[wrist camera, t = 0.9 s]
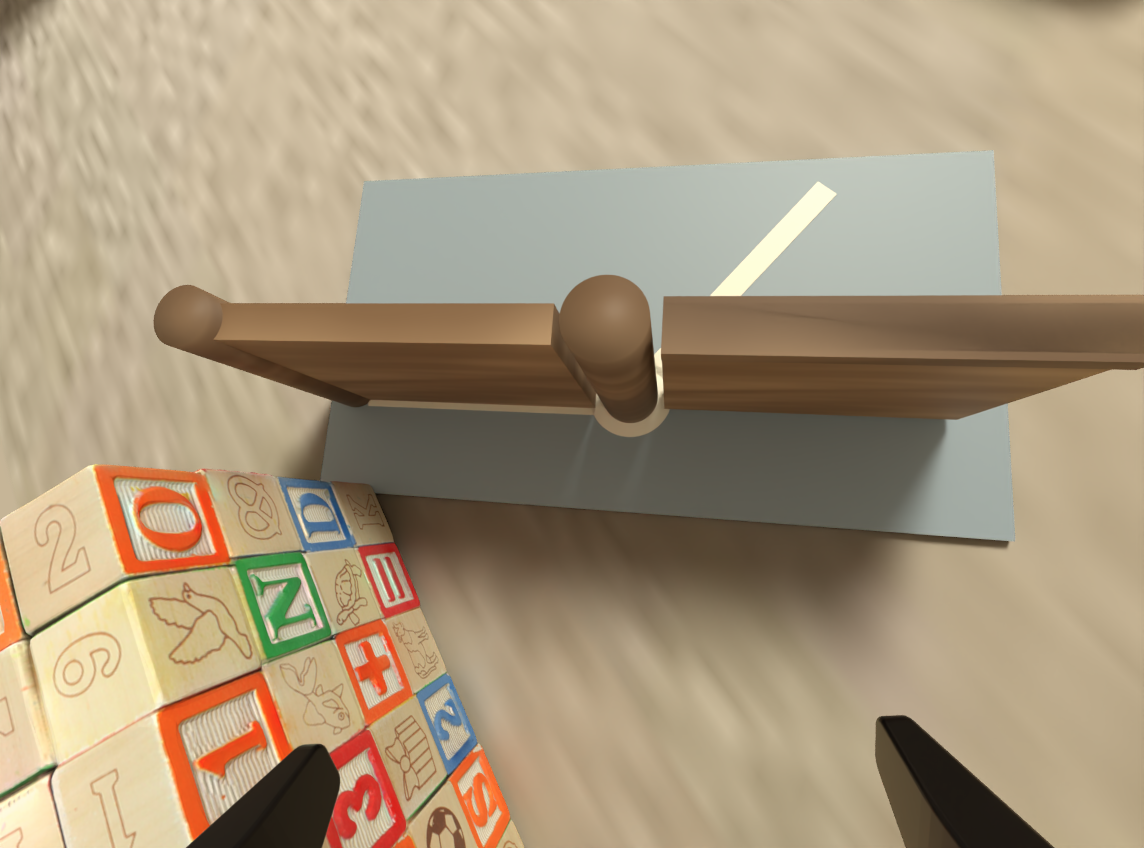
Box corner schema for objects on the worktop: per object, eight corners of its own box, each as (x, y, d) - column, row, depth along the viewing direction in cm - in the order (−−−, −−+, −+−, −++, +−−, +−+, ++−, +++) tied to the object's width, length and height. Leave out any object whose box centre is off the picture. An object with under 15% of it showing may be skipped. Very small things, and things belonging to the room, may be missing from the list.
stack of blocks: (588, 979, 20) (459, 1704, 8) (447, 1044, 20) (127, 1815, 8) (370, 480, 25) (82, 456, 13) (261, 544, 25) (-114, 579, 13)
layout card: (1010, 540, 20) (1015, 541, 19) (322, 489, 25) (318, 488, 25) (989, 155, 22) (993, 149, 22) (367, 184, 28) (363, 180, 27)
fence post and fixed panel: (656, 424, 23) (647, 362, 13) (335, 410, 25) (146, 352, 16) (659, 370, 23) (652, 273, 14) (342, 362, 26) (161, 279, 17)
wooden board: (957, 425, 20) (1159, 362, 12) (664, 413, 22) (660, 353, 14) (955, 384, 20) (1152, 294, 12) (665, 376, 22) (663, 296, 14)
